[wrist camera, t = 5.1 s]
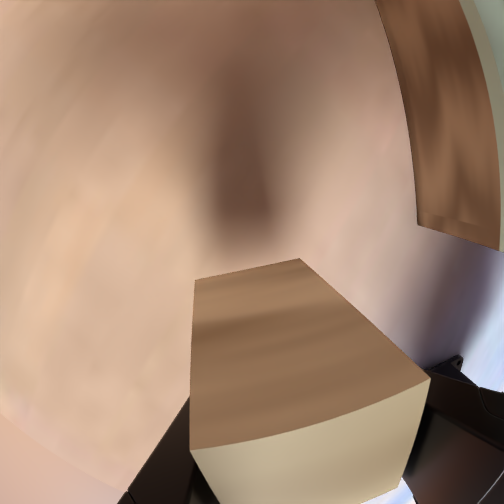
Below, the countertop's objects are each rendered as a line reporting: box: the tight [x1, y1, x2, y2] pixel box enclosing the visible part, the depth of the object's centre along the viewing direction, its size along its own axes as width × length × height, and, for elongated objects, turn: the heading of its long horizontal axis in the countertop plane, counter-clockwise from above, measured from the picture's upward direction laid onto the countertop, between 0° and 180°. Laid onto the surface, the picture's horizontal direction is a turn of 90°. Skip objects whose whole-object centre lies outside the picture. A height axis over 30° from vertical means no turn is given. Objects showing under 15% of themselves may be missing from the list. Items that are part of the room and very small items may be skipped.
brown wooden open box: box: [375, 0, 501, 251], centre depth 11 cm, size 16×12×6 cm
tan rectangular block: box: [190, 258, 431, 504], centre depth 7 cm, size 4×4×7 cm
